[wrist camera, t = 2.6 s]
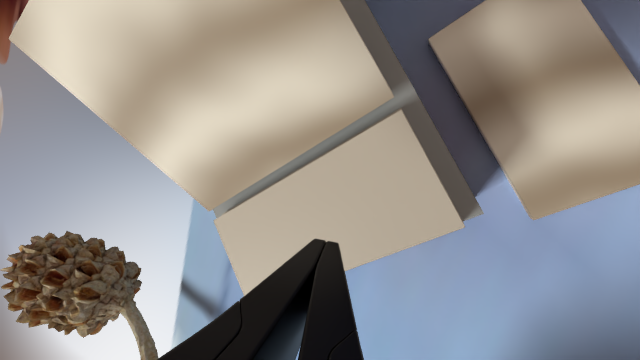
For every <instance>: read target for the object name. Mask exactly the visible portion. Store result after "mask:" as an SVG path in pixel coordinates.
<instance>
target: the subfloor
mask: <svg viewBox="0 0 640 360" xmlns="http://www.w3.org/2000/svg"><path fill="white" fill-rule="evenodd" d="M341 2H342V4H343V6H344V8H345V9H346V11H347V13H348V15H349V16H350V18H351V20H352V22H353V24H354V25H355V27H356V29H357V31H358V32H359V34H360V36H361V38H362V39H363V41H364V43H365V45H366V47H367V48H368V50H369V52H370V54H371V55H372V57H373V59H374V61H375V62H376V64H377V66H378V68H379V70H380V71H381V73H382V75H383V77H384V78H385V80H386V82H387V84H388V85H389V87H390V89H391V91H392V93H393V95H394V98H392V99H390V100H389V101H387V102H385V103H384V104H382V105H381V106H379V107H377V108H376V109H374V110H373V111H371V112H369V113H368V114H366V115H364V116H363V117H361V118H360V119H358V120H356V121H355V122H353V123H351V124H350V125H348V126H347V127H345V128H343V129H342V130H340V131H338V132H337V133H335V134H334V135H332V136H330V137H329V138H327V139H326V140H324V141H322V142H321V143H319V144H317V145H316V146H314V147H313V148H311V149H309V150H308V151H306V152H304V153H303V154H301V155H300V156H298V157H296V158H295V159H293V160H291V161H290V162H288V163H287V164H285V165H283V166H282V167H280V168H279V169H277V170H275V171H274V172H272V173H270V174H269V175H267V176H266V177H264V178H262V179H261V180H259V181H257V182H256V183H254V184H253V185H251V186H249V187H248V188H246V189H244V190H243V191H241V192H240V193H238V194H236V195H235V196H233V197H232V198H230V199H228V200H227V201H225V202H223V203H222V204H220V205H219V206H217V207H215V208H214V209H213V210H214V213H215V215H216V218H217V219H215V220H214V223H215V225H216V228H217V230H218V233H219V235H220V238H221V240H222V243H223V245H224V247H225V250H226V252H227V255H228V257H229V260H230V262H231V265H232V267H233V270H234V272H235V274H236V277H237V279H238V282H239V284H240V287H241V289H242V292H243V294H244V296H245V295H246V294H247V293H249V292H250V291H251V290H252V289H253V288H255V287H256V286H257V285H258V284H260V283H261V282H262V281H263V280H264V279H266V278H267V277H268V276H269V275H271V274H272V273H273V272H274V271H275V270H277V269H278V268H279V267H280V266H281V265H283V264H284V263H285V262H286V261H288V260H289V259H290V258H291V257H292V256H294V255H295V254H296V253H297V252H299V251H300V250H301V249H302V248H303V247H305V246H306V245H307V244H308V243H310V242H311V241H312V240H313V239H321V240H325V241H326V242H327V241H332V242H337V243H339V247H340V251H341V256H342V261H343V266H344V270H345V271H347V270H350V269H352V268H355V267H358V266H361V265H363V264H366V263H369V262H371V261H374V260H377V259H380V258H382V257H385V256H388V255H391V254H393V253H396V252H399V251H402V250H404V249H407V248H410V247H412V246H415V245H418V244H421V243H423V242H426V241H429V240H432V239H434V238H437V237H440V236H443V235H445V234H448V233H451V232H453V231H456V230H459V229H462V228H464V227H465V226H464V223H463V221H465V220H468V219H471V218H473V217H476V216H479V215H481V214H484V213H483V211H482V209H481V207H480V206H479V204H478V202H477V200H476V199H475V197H474V195H473V193H472V191H471V190H470V188H469V186H468V184H467V182H466V181H465V179H464V177H463V175H462V173H461V172H460V170H459V168H458V166H457V165H456V163H455V161H454V159H453V157H452V156H451V154H450V152H449V150H448V148H447V147H446V145H445V143H444V141H443V139H442V138H441V136H440V134H439V132H438V130H437V129H436V127H435V125H434V123H433V122H432V120H431V118H430V116H429V114H428V113H427V111H426V109H425V107H424V105H423V104H422V102H421V100H420V98H419V96H418V95H417V93H416V91H415V89H414V88H413V86H412V84H411V82H410V80H409V79H408V77H407V75H406V73H405V71H404V70H403V68H402V66H401V64H400V62H399V61H398V59H397V57H396V55H395V54H394V52H393V50H392V48H391V46H390V45H389V43H388V41H387V39H386V37H385V36H384V34H383V32H382V30H381V28H380V27H379V25H378V23H377V21H376V19H375V18H374V16H373V14H372V12H371V11H370V9H369V7H368V5H367V3H366V2H365V0H341Z"/></svg>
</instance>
